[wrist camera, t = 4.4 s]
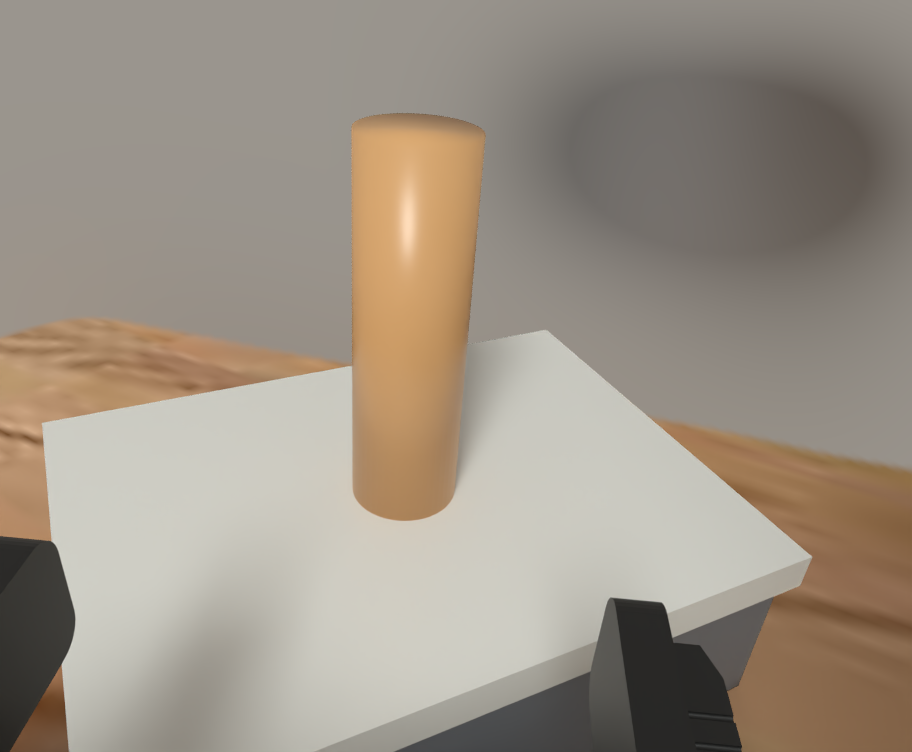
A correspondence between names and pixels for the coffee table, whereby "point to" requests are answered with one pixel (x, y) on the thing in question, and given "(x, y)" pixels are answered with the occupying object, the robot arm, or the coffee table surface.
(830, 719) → the coffee table surface
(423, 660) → the tub lid
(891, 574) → the coffee table surface
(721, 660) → the parts tub
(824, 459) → the coffee table surface
